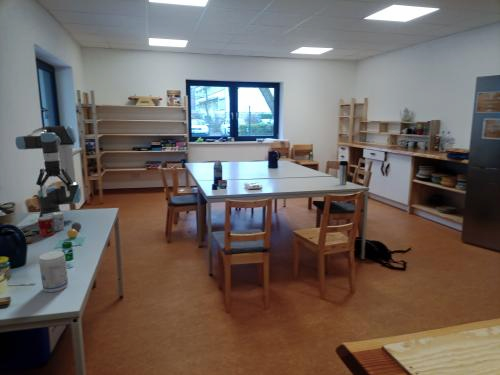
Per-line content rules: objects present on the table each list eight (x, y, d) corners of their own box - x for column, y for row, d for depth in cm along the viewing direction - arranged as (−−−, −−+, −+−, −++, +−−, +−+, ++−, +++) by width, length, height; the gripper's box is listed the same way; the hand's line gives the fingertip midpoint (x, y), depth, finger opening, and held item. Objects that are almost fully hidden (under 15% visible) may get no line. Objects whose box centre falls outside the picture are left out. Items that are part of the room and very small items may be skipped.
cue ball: (72, 230, 227) (71, 221, 226) (82, 229, 229) (81, 220, 227) (71, 232, 222) (70, 224, 221) (80, 231, 223) (79, 223, 222)
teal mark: (59, 240, 209) (59, 239, 209) (85, 237, 213) (85, 236, 213) (54, 248, 196) (54, 248, 196) (82, 245, 200) (81, 244, 200)
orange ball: (68, 237, 214) (67, 228, 213) (78, 236, 215) (77, 227, 214) (67, 240, 209) (65, 231, 208) (77, 238, 210) (76, 230, 209)
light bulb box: (46, 233, 222) (44, 216, 220) (44, 230, 227) (41, 214, 225) (65, 229, 229) (63, 213, 227) (62, 227, 234) (60, 211, 232)
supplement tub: (39, 288, 151) (34, 255, 148) (62, 280, 158) (58, 248, 155) (48, 295, 145) (43, 261, 142) (72, 286, 152) (68, 254, 149)
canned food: (48, 237, 214) (46, 219, 212) (37, 236, 216) (34, 219, 214) (58, 233, 222) (55, 216, 219) (46, 232, 223) (44, 215, 221)
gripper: (25, 161, 199) (31, 198, 204) (69, 160, 199) (74, 197, 203) (33, 159, 207) (39, 195, 211) (76, 159, 206) (80, 194, 211)
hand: (56, 196), depth 207 cm, fingers open, 13 cm apart
